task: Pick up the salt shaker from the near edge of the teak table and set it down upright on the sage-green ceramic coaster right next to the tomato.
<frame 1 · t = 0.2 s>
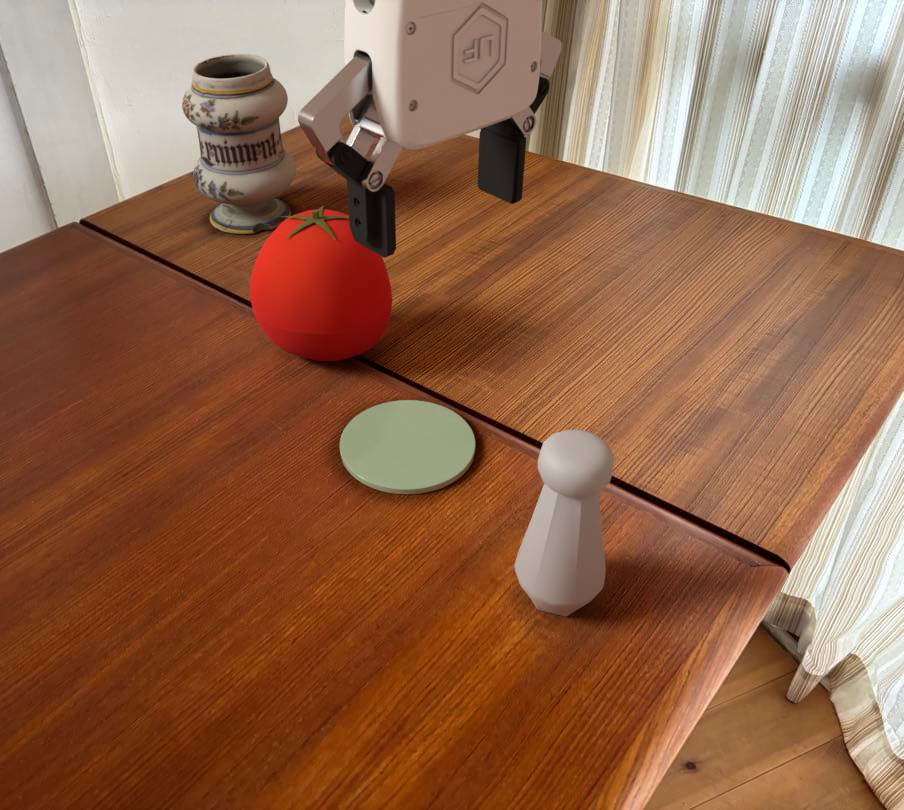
hand: (439, 220, 49), 23 cm above the table, tool pointing down, fingers open, 9 cm apart
salt shaker: (556, 593, 57), on the table
coaster: (407, 447, 69), on the table
tomato: (327, 354, 80), on the table
apothecary jar: (251, 217, 104), on the table
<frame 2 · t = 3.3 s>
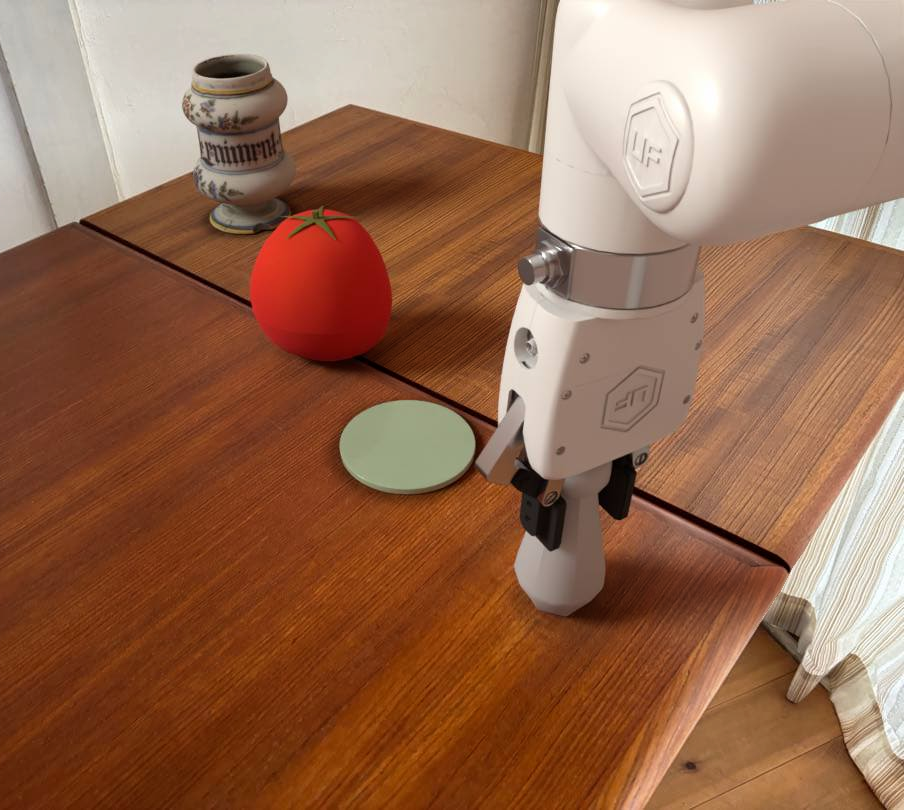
hand: (573, 517, 51), 8 cm above the table, tool pointing down, fingers closed on salt shaker, 4 cm apart
salt shaker: (556, 593, 57), on the table, touching gripper
everything else where it was.
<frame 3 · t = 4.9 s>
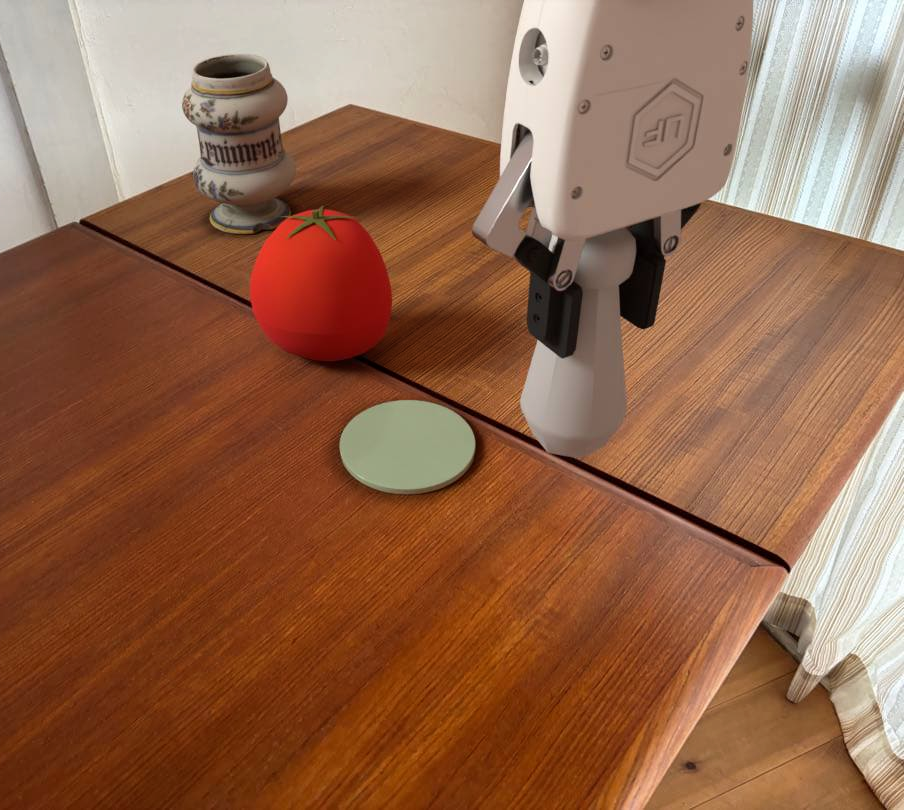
hand: (590, 326, 44), 21 cm above the table, tool pointing down, fingers closed on salt shaker, 4 cm apart
salt shaker: (569, 437, 49), point 13 cm above the table, touching gripper
everything else where it was.
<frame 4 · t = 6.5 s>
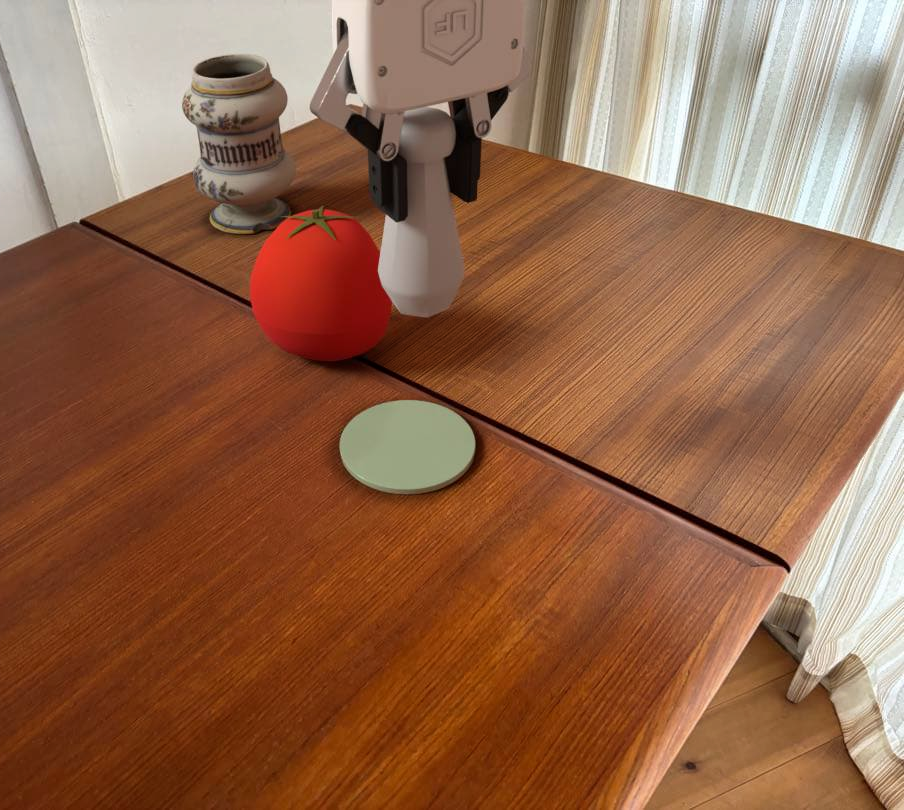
hand: (425, 200, 53), 23 cm above the table, tool pointing down, fingers closed on salt shaker, 4 cm apart
salt shaker: (421, 304, 58), point 15 cm above the table, touching gripper
everything else where it was.
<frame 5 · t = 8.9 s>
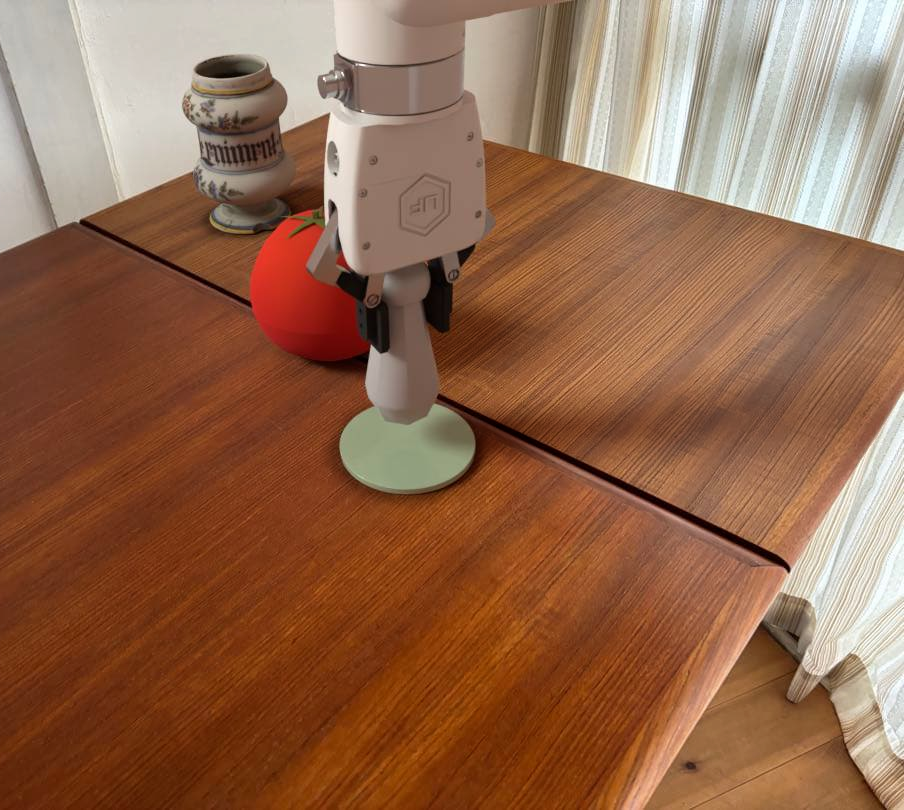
hand: (405, 331, 62), 11 cm above the table, tool pointing down, fingers closed on salt shaker, 4 cm apart
salt shaker: (403, 410, 67), point 3 cm above the table, touching gripper
everything else where it was.
when the fingers open (8 cm above the table, at t = 10.1 s): salt shaker stays where it is, resting on coaster.
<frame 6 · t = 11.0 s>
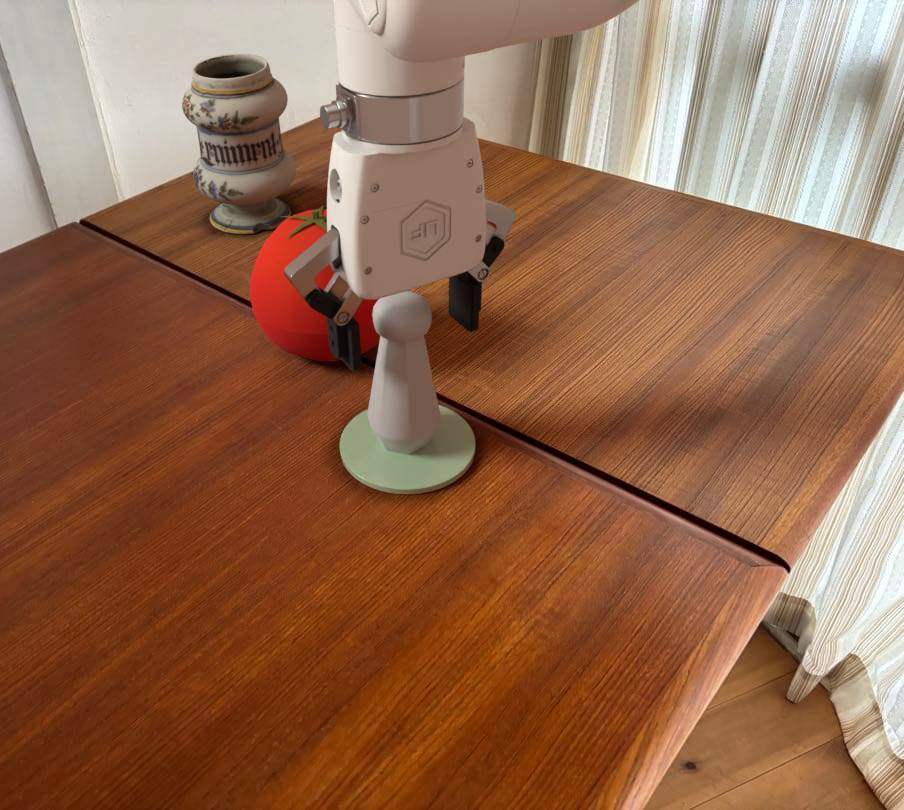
hand: (407, 341, 62), 11 cm above the table, tool pointing down, fingers open, 9 cm apart
salt shaker: (404, 439, 69), resting on coaster
everything else where it was.
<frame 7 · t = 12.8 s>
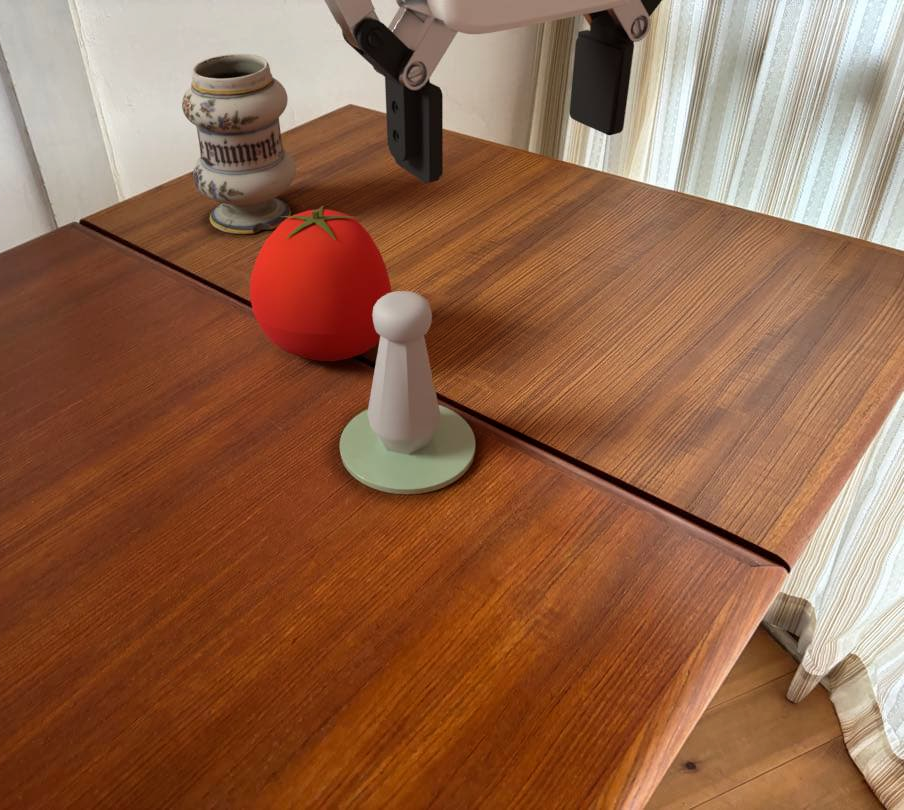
hand: (509, 148, 39), 31 cm above the table, tool pointing down, fingers open, 9 cm apart
nothing on the table moved.
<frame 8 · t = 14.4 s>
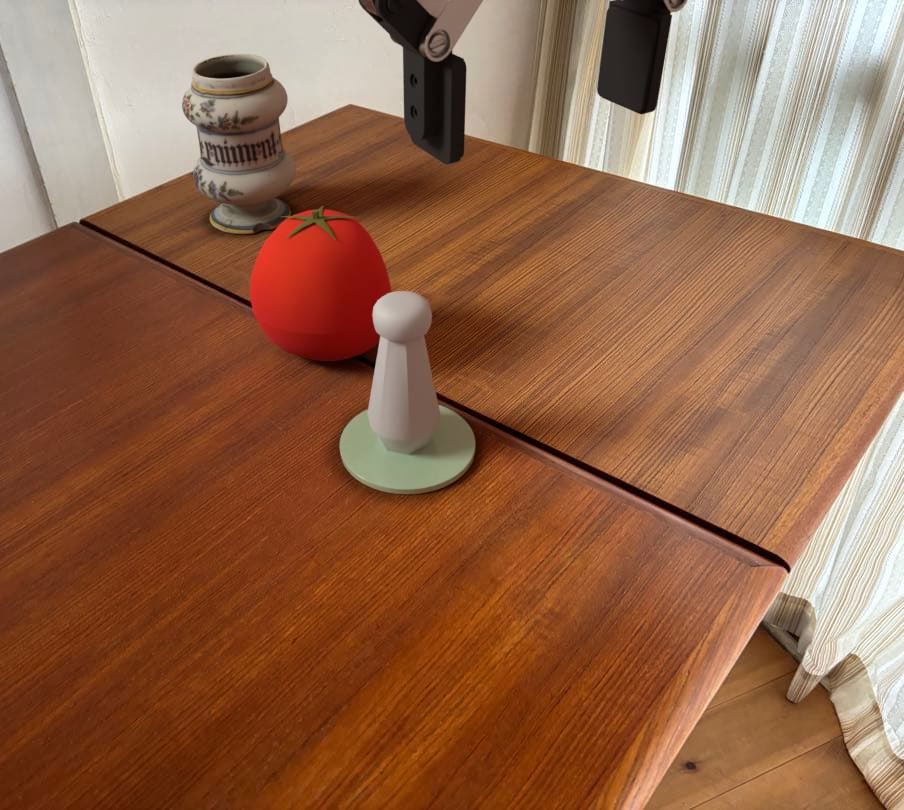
hand: (534, 127, 36), 32 cm above the table, tool pointing down, fingers open, 9 cm apart
nothing on the table moved.
at the end: salt shaker 0.5 cm off-centre on the coaster, point 0.4 cm above the coaster's base; salt shaker 15.1 cm from the tomato (horizontally); salt shaker tilted 0° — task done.
